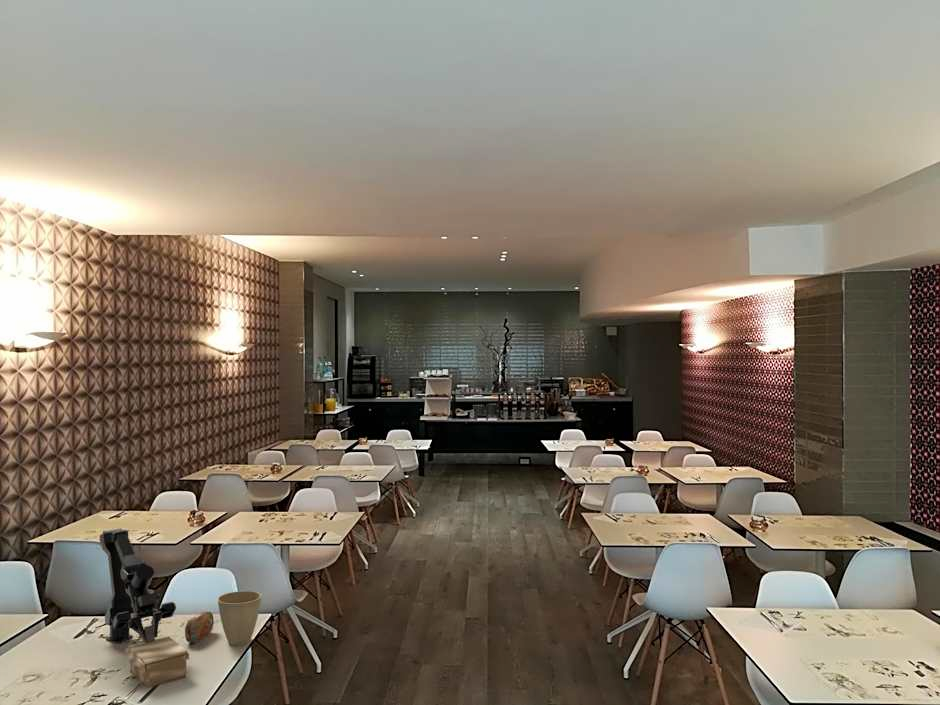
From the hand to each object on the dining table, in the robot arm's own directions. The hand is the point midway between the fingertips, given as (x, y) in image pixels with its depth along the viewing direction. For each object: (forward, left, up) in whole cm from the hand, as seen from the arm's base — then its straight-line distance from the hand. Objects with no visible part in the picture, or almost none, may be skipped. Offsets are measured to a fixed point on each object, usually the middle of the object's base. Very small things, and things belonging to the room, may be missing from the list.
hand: (150, 638), depth 241 cm
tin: (-7, +26, -10) cm, 28 cm away
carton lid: (+6, -2, -4) cm, 8 cm away
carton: (+6, -2, -10) cm, 12 cm away
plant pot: (+9, +30, -10) cm, 33 cm away
